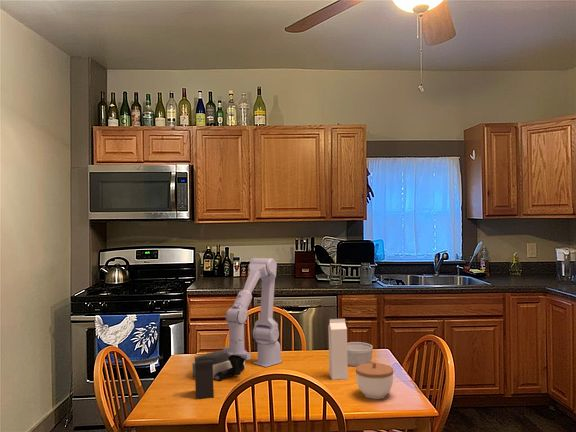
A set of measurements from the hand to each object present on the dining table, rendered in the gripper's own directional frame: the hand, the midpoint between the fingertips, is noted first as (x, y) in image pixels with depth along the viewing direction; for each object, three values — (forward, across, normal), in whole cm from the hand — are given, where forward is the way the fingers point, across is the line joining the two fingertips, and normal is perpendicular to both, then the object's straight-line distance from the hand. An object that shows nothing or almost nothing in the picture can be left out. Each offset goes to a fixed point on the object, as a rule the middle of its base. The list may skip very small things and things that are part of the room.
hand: (237, 374), depth 189 cm
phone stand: (+1, +6, -19) cm, 20 cm away
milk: (+1, +28, +26) cm, 39 cm away
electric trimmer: (+2, -4, -1) cm, 4 cm away
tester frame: (+1, -10, -1) cm, 10 cm away
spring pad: (+1, -7, -1) cm, 7 cm away
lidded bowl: (+1, +49, +20) cm, 53 cm away
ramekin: (+1, +22, +45) cm, 50 cm away
